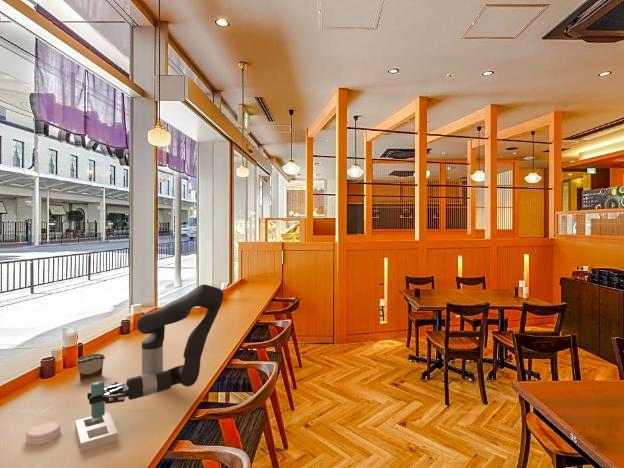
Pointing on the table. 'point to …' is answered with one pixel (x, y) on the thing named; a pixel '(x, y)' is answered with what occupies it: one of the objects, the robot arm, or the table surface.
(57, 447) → the table surface
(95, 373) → the food container
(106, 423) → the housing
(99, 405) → the teal cylinder
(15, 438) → the table surface
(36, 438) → the coaster
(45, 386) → the table surface
